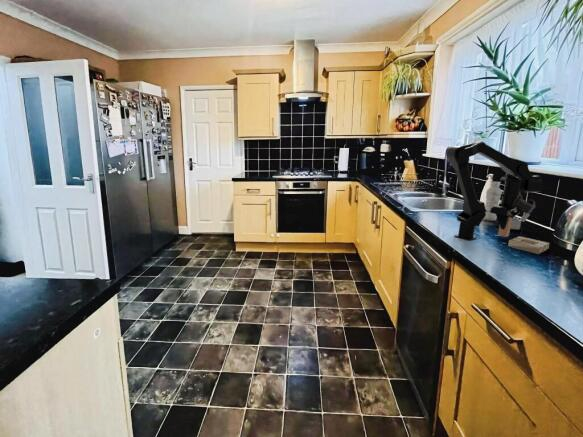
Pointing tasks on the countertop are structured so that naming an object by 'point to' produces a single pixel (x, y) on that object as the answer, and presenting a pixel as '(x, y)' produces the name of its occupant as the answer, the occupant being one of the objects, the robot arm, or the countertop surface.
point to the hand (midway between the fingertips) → (504, 228)
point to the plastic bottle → (492, 200)
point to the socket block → (528, 244)
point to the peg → (505, 231)
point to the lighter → (518, 221)
